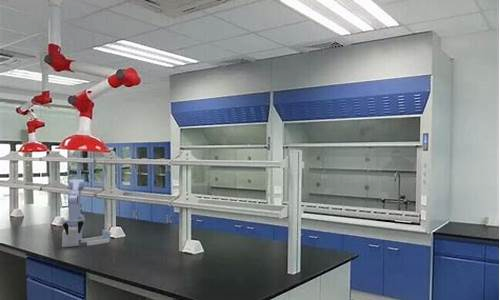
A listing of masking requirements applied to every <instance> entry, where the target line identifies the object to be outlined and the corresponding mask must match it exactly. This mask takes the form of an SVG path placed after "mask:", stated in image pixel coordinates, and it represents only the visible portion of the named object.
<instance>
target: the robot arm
mask: <svg viewBox="0 0 500 300" xmlns="http://www.w3.org/2000/svg"><path fill="white" fill-rule="evenodd" d="M68 183H69V184H68V186H69V190H70V192H69V195H68V197H67V203H68V219H66V220H65V219H64V220H61V222H60V224H61V225H62V226H63V230H64V229H65V231H66V235H68V228H78V233H79V241H81V239H84V238H83V227H84V226H85V222H86V218H85V216H84V214H82V213H81V193H82V191H84V189H85V179H82V178H80V179H78V178H77V179H69V180H68Z"/></svg>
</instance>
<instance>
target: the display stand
mask: <svg viewBox="0 0 500 300" xmlns="http://www.w3.org/2000/svg"><path fill="white" fill-rule="evenodd" d="M101 231H102V232H101V235H100V236H95V237H94V236H93V237H86V238H83V239H81V240H80V243H81V244H83V243H84V244H85V243H86V246H94V245H95V246H96V245H100V244H107V243H111V234H112V233H111V231H108V230H106V229H102V230H101Z"/></svg>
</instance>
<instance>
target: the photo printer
mask: <svg viewBox="0 0 500 300" xmlns="http://www.w3.org/2000/svg"><path fill="white" fill-rule="evenodd" d="M61 233H62V235H61V237H62V238H61V239H62V240H61V247H62V248H69V247H70V248H71V247H78V246H79V245H80V244H79V243H80V240H79V233H78V228H71V227H69V228H68V235H66V231H65V229H64V228H63V230H62V232H61Z"/></svg>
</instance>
